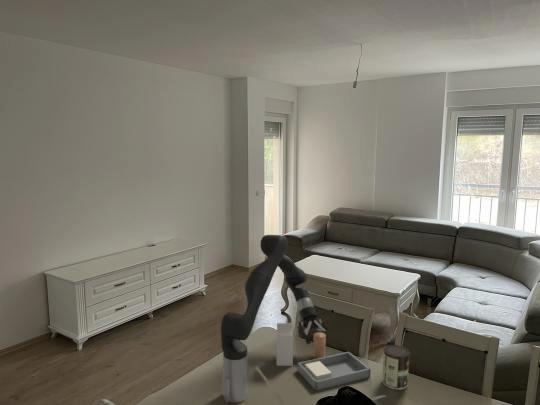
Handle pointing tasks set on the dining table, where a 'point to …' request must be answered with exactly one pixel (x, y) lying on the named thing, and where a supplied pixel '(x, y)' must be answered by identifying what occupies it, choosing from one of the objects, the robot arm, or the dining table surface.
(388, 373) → the coffee can
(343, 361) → the tray
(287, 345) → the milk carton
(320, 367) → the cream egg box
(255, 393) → the dining table surface
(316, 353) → the terracotta jar
